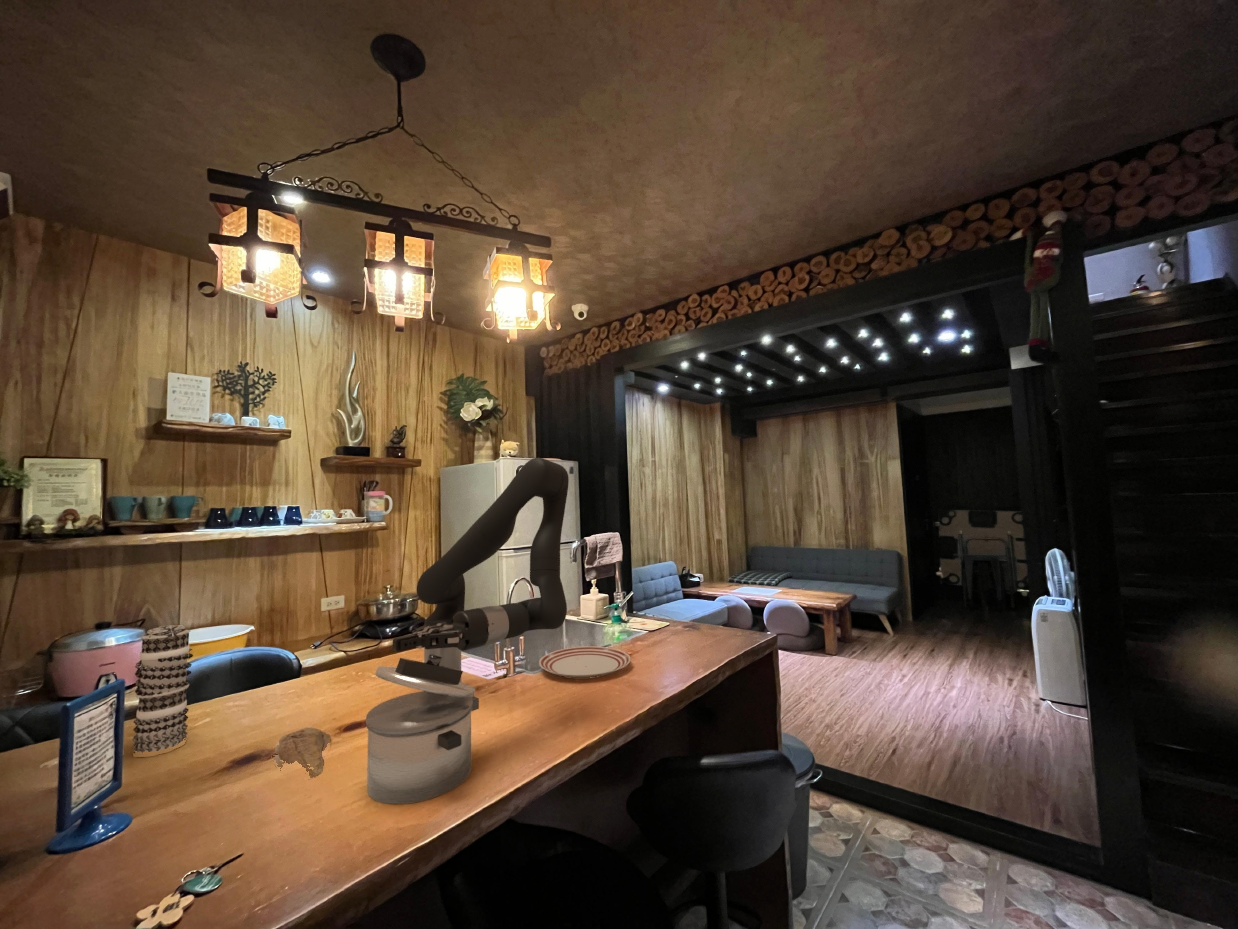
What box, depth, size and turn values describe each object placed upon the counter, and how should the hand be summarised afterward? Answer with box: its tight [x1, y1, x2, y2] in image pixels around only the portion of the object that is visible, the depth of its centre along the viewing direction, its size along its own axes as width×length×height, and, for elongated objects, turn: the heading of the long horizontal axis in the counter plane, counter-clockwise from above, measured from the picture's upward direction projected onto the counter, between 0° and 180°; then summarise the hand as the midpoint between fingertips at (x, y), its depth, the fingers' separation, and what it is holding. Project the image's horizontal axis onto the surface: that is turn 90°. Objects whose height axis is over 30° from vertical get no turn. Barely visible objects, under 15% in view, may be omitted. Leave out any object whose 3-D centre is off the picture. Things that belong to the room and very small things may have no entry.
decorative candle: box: [131, 624, 194, 753], centre depth 107 cm, size 9×9×25 cm
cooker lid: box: [374, 654, 476, 698], centre depth 93 cm, size 18×18×5 cm
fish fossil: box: [273, 726, 331, 779], centre depth 100 cm, size 26×10×1 cm, turn 40°
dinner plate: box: [538, 645, 632, 679], centre depth 150 cm, size 27×27×3 cm
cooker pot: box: [365, 690, 480, 805], centre depth 91 cm, size 22×19×12 cm
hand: (394, 645), depth 89 cm, fingers closed
